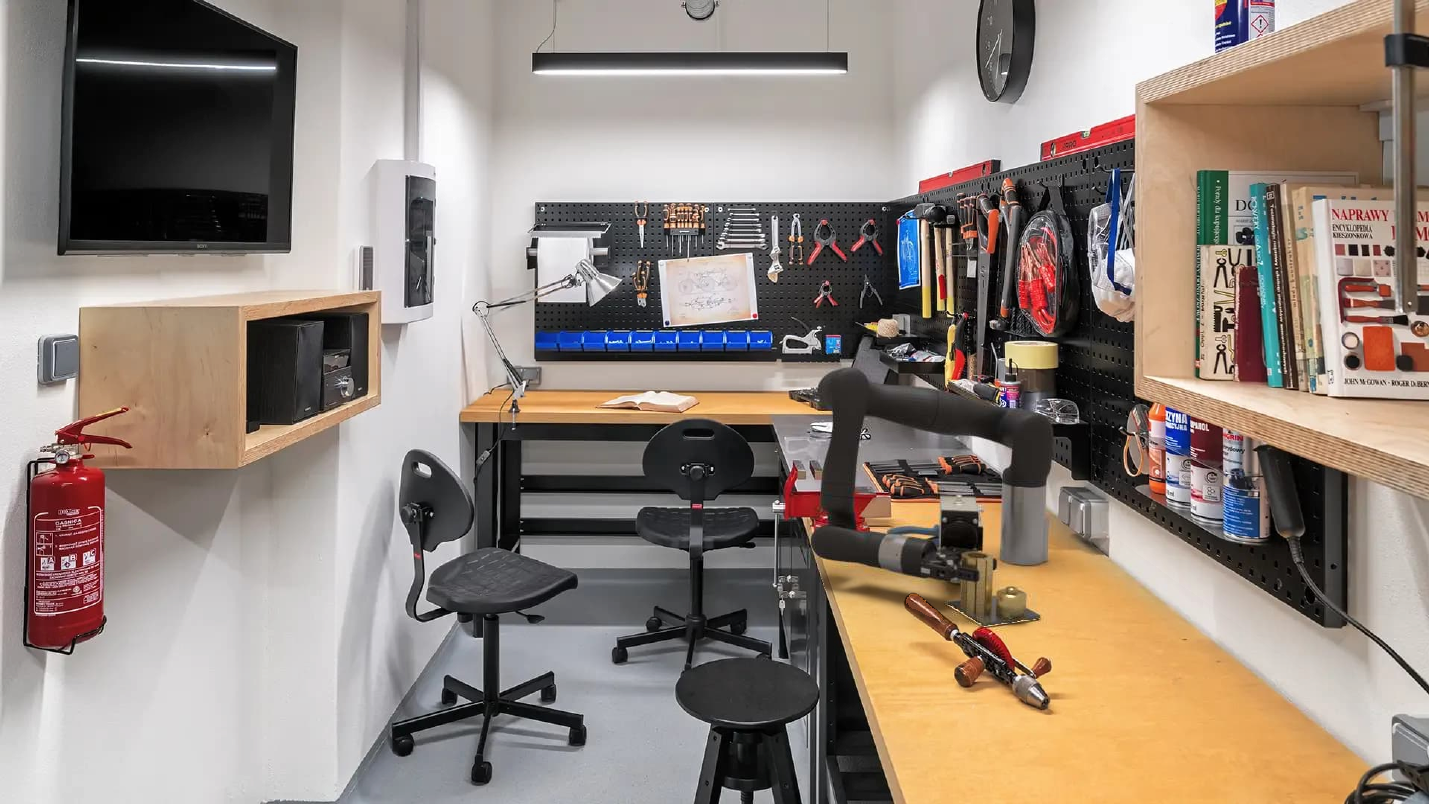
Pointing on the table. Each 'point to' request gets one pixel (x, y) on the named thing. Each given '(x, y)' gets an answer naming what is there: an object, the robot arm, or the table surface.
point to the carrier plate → (991, 614)
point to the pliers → (918, 532)
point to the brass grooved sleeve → (980, 592)
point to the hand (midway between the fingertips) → (987, 570)
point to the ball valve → (960, 524)
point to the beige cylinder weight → (1011, 603)
